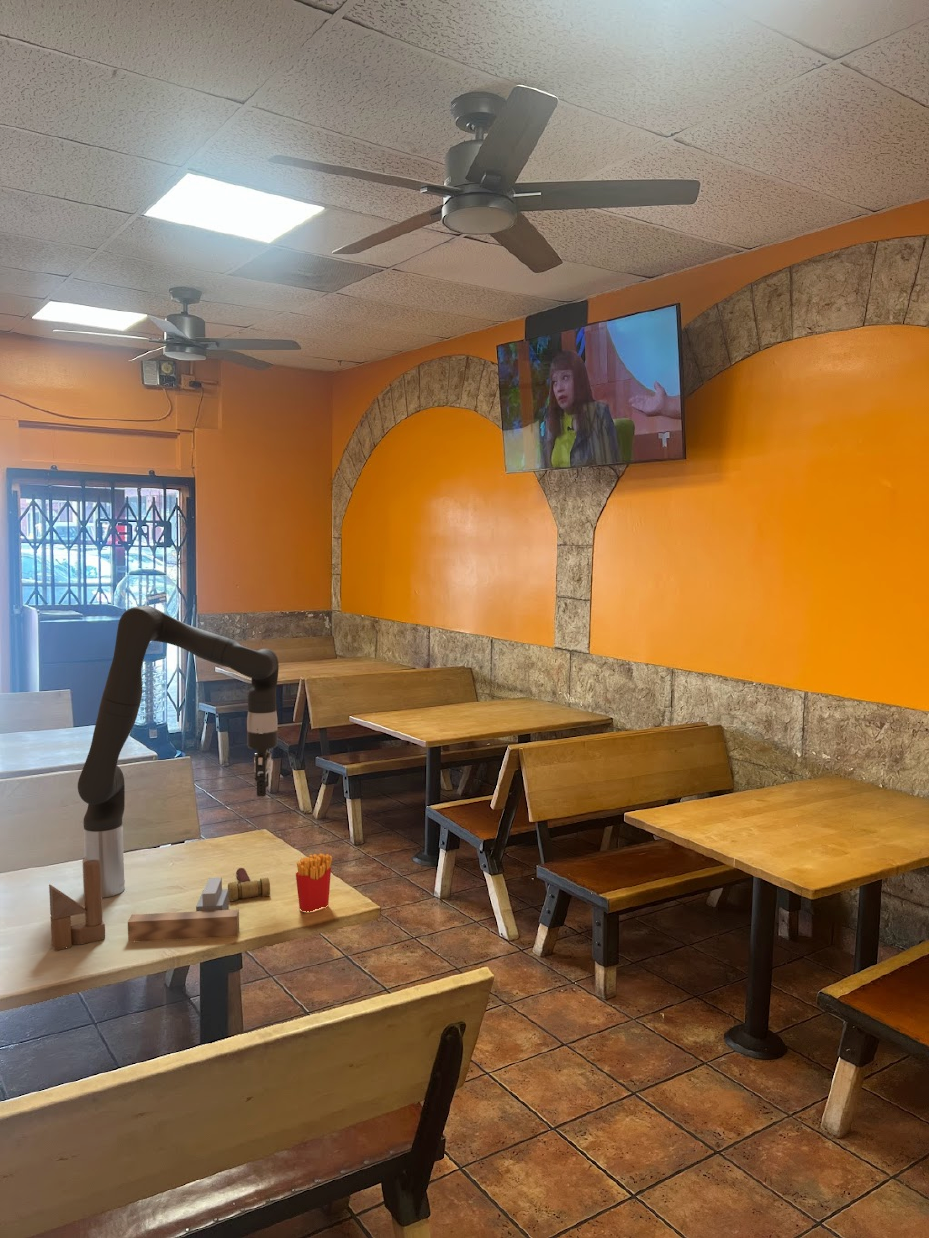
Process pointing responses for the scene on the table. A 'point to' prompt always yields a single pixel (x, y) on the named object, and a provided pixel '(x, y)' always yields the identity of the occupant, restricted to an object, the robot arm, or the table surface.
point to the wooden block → (78, 911)
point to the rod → (183, 925)
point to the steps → (213, 896)
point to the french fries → (313, 881)
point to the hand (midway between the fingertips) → (262, 791)
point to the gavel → (247, 887)
